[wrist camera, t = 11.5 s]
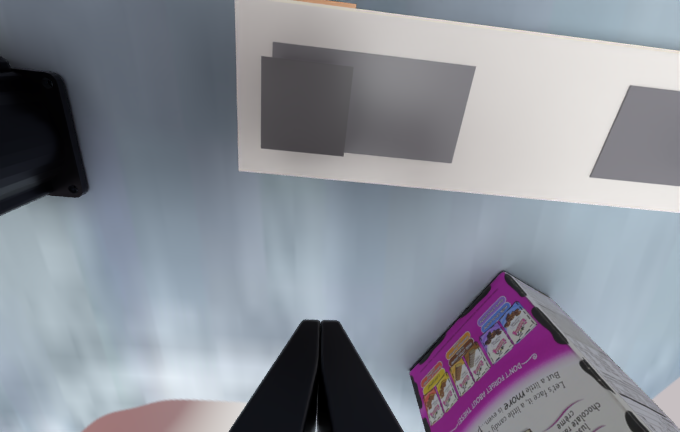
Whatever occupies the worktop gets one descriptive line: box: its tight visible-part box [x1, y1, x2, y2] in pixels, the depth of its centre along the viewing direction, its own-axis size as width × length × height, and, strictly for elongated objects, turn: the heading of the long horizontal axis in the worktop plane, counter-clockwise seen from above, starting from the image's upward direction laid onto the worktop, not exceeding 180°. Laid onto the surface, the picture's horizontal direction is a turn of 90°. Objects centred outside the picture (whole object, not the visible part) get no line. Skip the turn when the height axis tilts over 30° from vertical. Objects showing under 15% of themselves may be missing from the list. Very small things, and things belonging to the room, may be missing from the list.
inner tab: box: [261, 56, 354, 157], centre depth 12 cm, size 3×3×3 cm
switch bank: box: [235, 0, 680, 213], centre depth 16 cm, size 7×27×3 cm, turn 84°
